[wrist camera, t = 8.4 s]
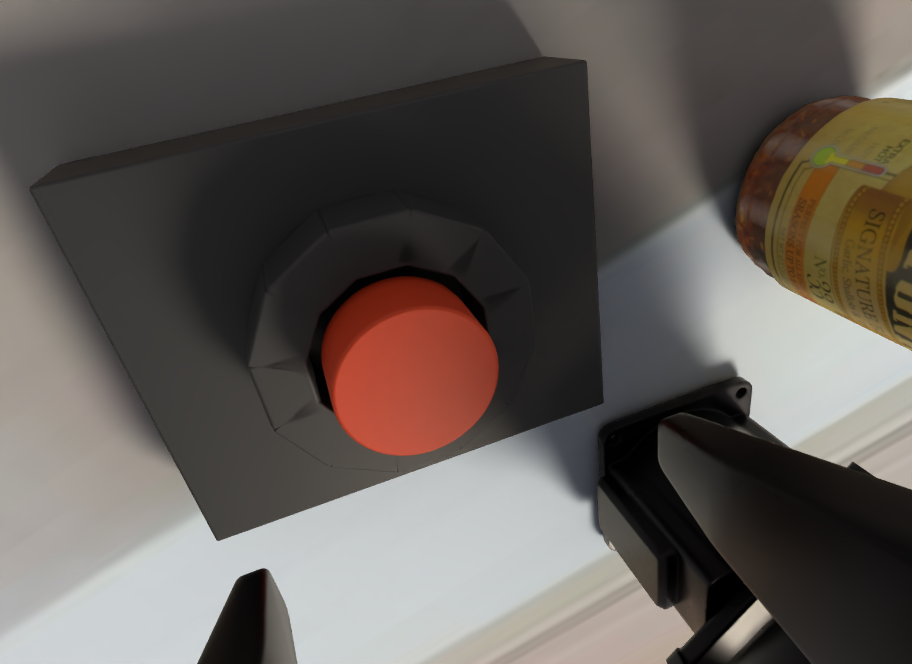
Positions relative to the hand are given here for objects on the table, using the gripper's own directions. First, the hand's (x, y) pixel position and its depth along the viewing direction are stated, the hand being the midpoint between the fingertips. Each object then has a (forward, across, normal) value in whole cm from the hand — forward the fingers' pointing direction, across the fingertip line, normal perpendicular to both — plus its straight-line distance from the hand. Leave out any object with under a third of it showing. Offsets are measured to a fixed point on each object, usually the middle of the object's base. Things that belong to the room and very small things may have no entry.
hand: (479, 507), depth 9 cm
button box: (+9, 0, 0) cm, 9 cm away
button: (+5, 0, 0) cm, 5 cm away
